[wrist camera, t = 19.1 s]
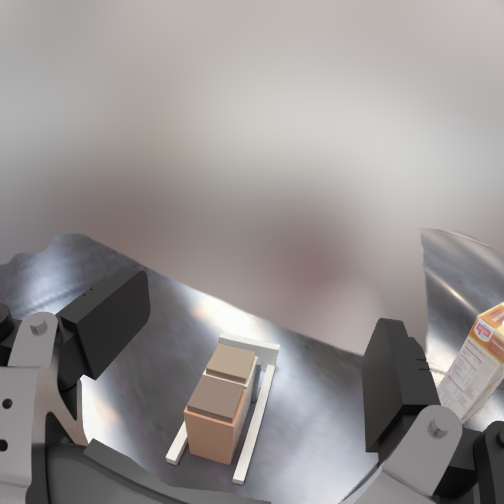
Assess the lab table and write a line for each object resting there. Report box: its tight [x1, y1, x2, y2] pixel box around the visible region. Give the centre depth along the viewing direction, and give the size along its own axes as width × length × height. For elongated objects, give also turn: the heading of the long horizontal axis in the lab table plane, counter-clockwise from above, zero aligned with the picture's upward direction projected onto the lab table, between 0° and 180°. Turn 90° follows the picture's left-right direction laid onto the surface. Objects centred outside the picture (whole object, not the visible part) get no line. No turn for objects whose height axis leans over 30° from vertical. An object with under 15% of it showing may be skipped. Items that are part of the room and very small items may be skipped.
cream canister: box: [203, 343, 258, 430], centre depth 32 cm, size 5×5×11 cm
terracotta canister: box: [184, 375, 247, 465], centre depth 27 cm, size 5×5×11 cm
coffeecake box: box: [436, 302, 504, 425], centre depth 28 cm, size 15×7×20 cm, turn 107°
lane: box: [166, 332, 280, 485], centre depth 33 cm, size 22×9×5 cm, turn 167°
